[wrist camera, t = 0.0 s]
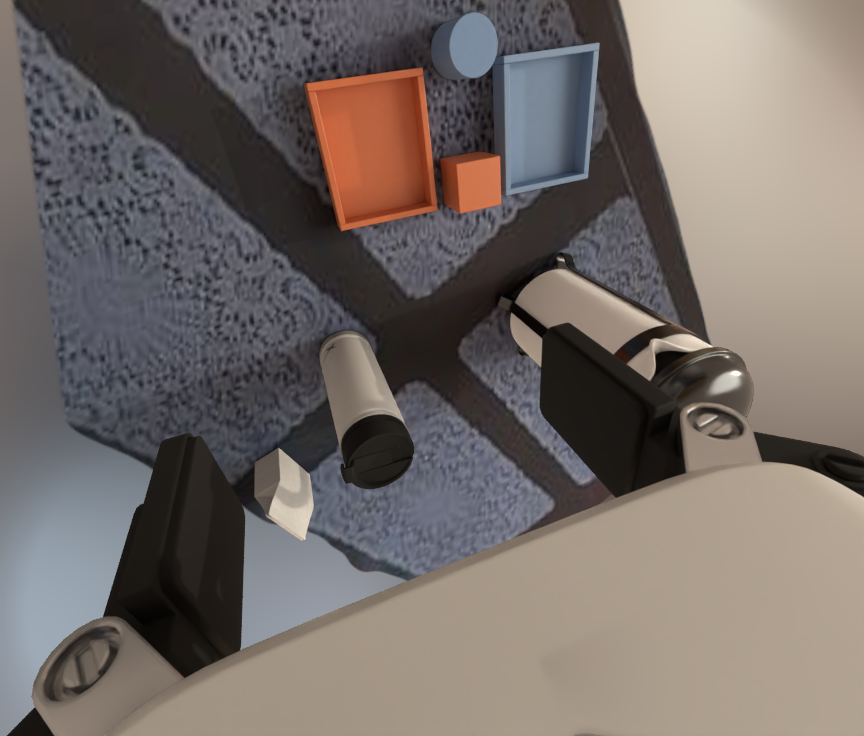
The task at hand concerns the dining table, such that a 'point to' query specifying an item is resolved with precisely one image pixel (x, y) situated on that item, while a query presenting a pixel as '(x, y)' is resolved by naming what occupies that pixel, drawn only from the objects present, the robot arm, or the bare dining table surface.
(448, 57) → the blue cylinder
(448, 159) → the terracotta block
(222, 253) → the dining table surface
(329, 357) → the travel mug
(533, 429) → the dining table surface
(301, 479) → the white gabled block
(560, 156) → the blue tray
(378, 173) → the terracotta tray
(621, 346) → the coffee press
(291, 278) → the dining table surface
